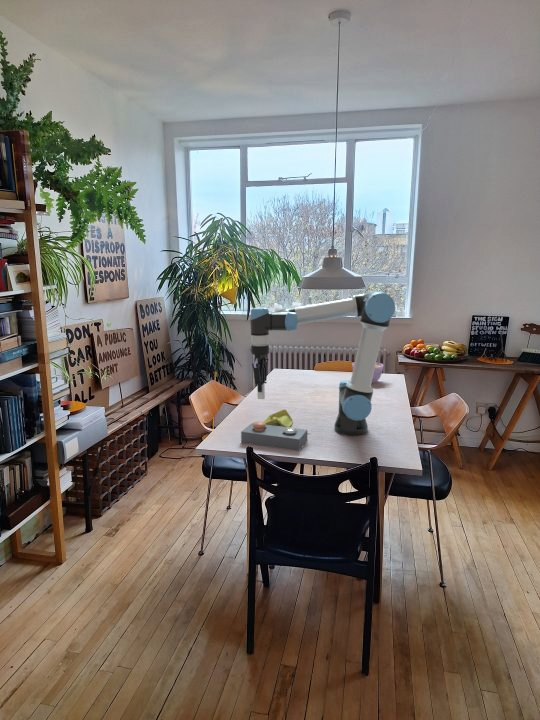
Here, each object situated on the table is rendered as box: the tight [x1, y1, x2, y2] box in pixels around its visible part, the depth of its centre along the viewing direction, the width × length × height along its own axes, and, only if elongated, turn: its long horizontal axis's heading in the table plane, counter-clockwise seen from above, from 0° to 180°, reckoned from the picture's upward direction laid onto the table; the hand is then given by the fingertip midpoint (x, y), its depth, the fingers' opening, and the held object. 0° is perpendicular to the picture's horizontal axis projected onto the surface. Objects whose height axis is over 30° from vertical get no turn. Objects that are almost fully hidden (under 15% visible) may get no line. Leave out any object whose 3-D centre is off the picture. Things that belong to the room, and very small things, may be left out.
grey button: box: [283, 427, 296, 435], centre depth 197 cm, size 6×6×6 cm
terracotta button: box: [252, 420, 266, 431], centre depth 202 cm, size 6×6×6 cm
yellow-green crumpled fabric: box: [263, 409, 294, 428], centre depth 218 cm, size 20×7×10 cm
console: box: [240, 422, 308, 452], centre depth 200 cm, size 26×12×5 cm, turn 69°
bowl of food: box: [351, 361, 385, 384], centre depth 301 cm, size 20×20×12 cm
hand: (261, 398), depth 200 cm, fingers closed
